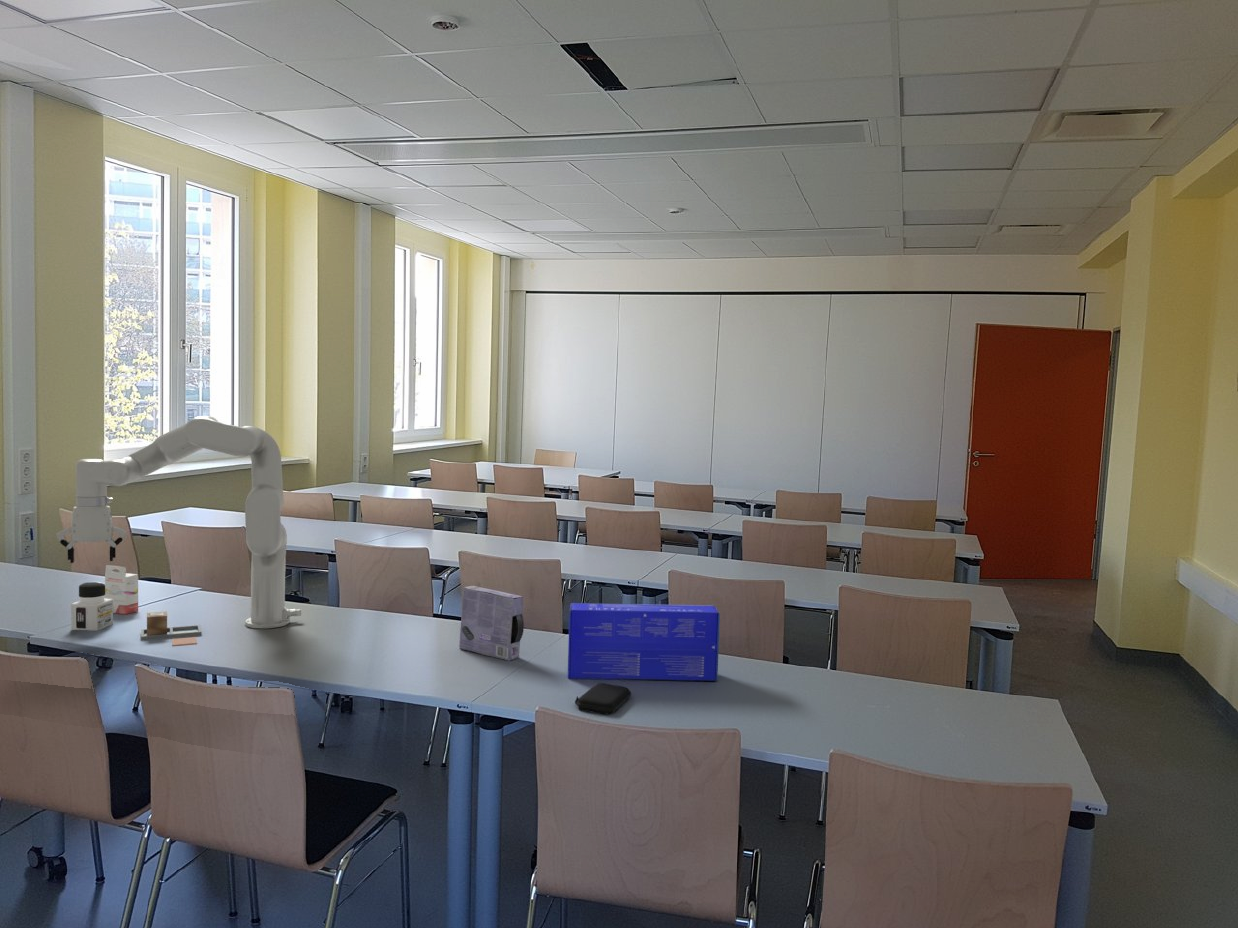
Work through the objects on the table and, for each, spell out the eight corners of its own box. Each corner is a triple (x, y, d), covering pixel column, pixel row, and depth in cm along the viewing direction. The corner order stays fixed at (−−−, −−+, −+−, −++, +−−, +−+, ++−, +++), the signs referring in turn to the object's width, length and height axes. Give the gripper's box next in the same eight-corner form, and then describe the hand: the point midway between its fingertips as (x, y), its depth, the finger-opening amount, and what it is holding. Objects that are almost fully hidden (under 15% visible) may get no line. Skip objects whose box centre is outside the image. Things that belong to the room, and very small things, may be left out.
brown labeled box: (166, 632, 250) (166, 611, 250) (167, 636, 246) (167, 615, 245) (146, 633, 248) (146, 612, 247) (146, 638, 243) (146, 616, 243)
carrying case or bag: (592, 691, 217) (569, 710, 203) (592, 679, 217) (569, 697, 203) (633, 697, 213) (612, 718, 199) (633, 685, 213) (612, 705, 199)
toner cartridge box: (712, 672, 235) (715, 604, 233) (717, 683, 226) (721, 612, 225) (567, 669, 233) (569, 600, 231) (566, 679, 224) (569, 608, 223)
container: (97, 631, 249) (97, 586, 248) (70, 630, 249) (70, 585, 248) (113, 624, 257) (113, 580, 256) (87, 623, 257) (87, 579, 256)
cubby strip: (200, 629, 256) (200, 624, 256) (201, 636, 249) (201, 631, 249) (141, 633, 248) (141, 629, 248) (140, 641, 242) (140, 636, 241)
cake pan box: (523, 657, 241) (525, 594, 239) (512, 662, 236) (514, 597, 235) (469, 645, 250) (471, 584, 249) (458, 649, 246) (459, 587, 245)
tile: (195, 639, 246) (195, 636, 246) (196, 644, 240) (196, 642, 240) (171, 641, 243) (171, 638, 243) (172, 646, 238) (172, 644, 238)
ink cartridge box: (139, 611, 273) (139, 564, 271) (126, 614, 268) (126, 567, 267) (117, 608, 275) (117, 562, 274) (104, 611, 270) (103, 564, 269)
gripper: (126, 499, 258) (126, 557, 259) (57, 501, 250) (57, 560, 251) (126, 503, 251) (126, 562, 252) (54, 504, 243) (55, 565, 244)
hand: (92, 561), depth 252 cm, fingers open, 9 cm apart
